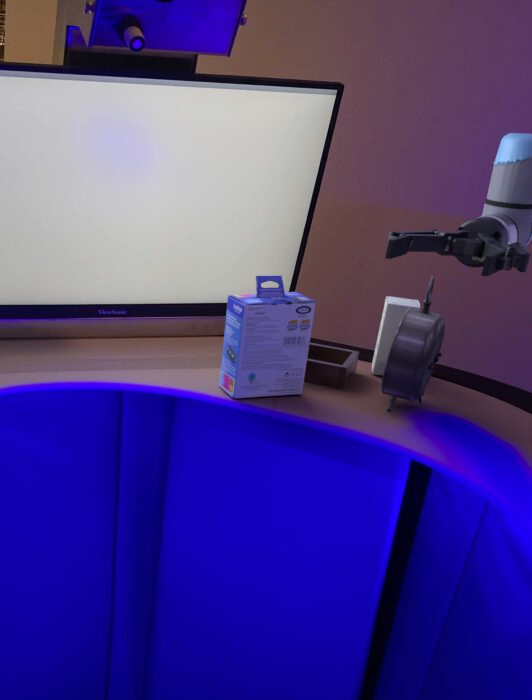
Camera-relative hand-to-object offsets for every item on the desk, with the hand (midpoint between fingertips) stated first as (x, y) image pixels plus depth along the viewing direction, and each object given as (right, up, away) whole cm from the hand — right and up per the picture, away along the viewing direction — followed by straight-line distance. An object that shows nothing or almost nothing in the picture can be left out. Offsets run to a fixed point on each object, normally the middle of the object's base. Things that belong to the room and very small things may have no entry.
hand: (436, 257), depth 119 cm
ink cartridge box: (-27, -19, -10) cm, 35 cm away
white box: (-7, -16, 0) cm, 18 cm away
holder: (-17, -17, -3) cm, 24 cm away
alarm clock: (-9, -21, -12) cm, 26 cm away
